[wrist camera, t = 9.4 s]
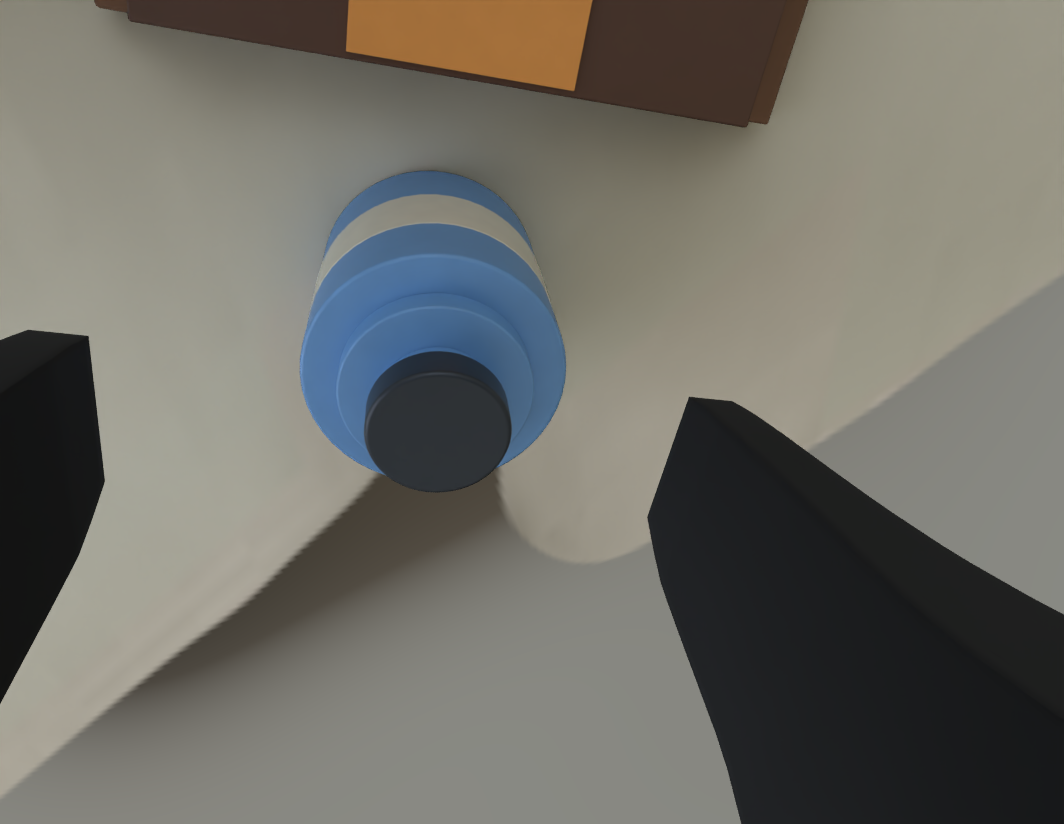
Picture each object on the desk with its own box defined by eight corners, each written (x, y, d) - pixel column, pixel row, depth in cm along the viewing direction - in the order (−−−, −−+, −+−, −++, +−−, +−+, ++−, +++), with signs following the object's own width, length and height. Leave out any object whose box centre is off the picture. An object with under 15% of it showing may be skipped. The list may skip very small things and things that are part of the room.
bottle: (427, 399, 21) (433, 588, 15) (277, 267, 19) (217, 434, 13) (575, 279, 20) (642, 438, 14) (435, 121, 17) (447, 234, 11)
